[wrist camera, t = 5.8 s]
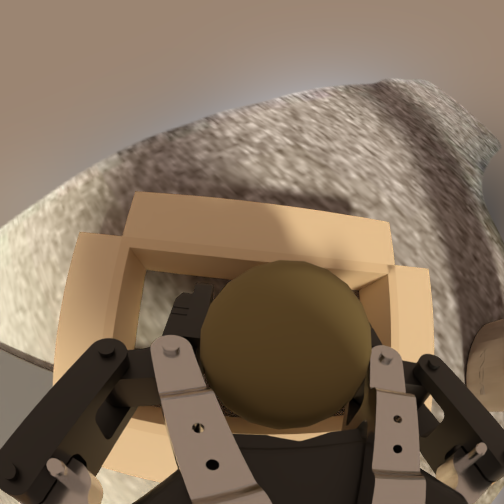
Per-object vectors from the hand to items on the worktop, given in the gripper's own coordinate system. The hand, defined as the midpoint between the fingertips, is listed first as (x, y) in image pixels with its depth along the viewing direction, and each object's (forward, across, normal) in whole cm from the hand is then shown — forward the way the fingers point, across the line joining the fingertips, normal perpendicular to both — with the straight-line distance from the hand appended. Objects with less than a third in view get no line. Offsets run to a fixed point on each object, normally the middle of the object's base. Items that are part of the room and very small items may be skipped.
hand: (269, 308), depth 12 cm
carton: (+3, 0, +5) cm, 6 cm away
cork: (+3, 0, +6) cm, 6 cm away
